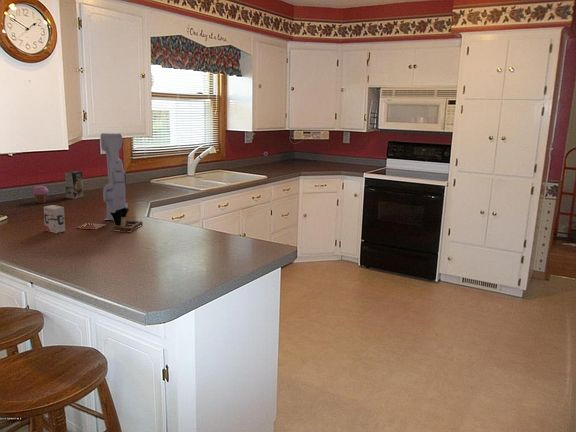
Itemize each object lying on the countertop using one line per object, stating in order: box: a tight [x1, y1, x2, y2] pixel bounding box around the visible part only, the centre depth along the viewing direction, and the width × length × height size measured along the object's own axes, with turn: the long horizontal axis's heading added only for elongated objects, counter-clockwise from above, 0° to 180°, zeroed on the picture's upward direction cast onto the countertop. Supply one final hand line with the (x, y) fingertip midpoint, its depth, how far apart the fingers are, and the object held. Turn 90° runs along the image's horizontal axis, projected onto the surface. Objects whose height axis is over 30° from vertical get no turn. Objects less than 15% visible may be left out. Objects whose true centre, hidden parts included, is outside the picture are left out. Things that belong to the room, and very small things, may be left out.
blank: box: [113, 216, 127, 227], centre depth 229 cm, size 4×4×5 cm
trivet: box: [77, 222, 107, 230], centre depth 228 cm, size 10×10×1 cm
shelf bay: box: [112, 219, 143, 231], centre depth 229 cm, size 14×8×2 cm, turn 174°
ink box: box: [43, 204, 66, 234], centre depth 216 cm, size 8×5×12 cm, turn 60°
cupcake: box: [31, 185, 50, 204], centre depth 278 cm, size 9×9×10 cm
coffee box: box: [64, 170, 84, 200], centre depth 297 cm, size 9×6×16 cm
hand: (120, 224), depth 229 cm, fingers closed on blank, 4 cm apart
